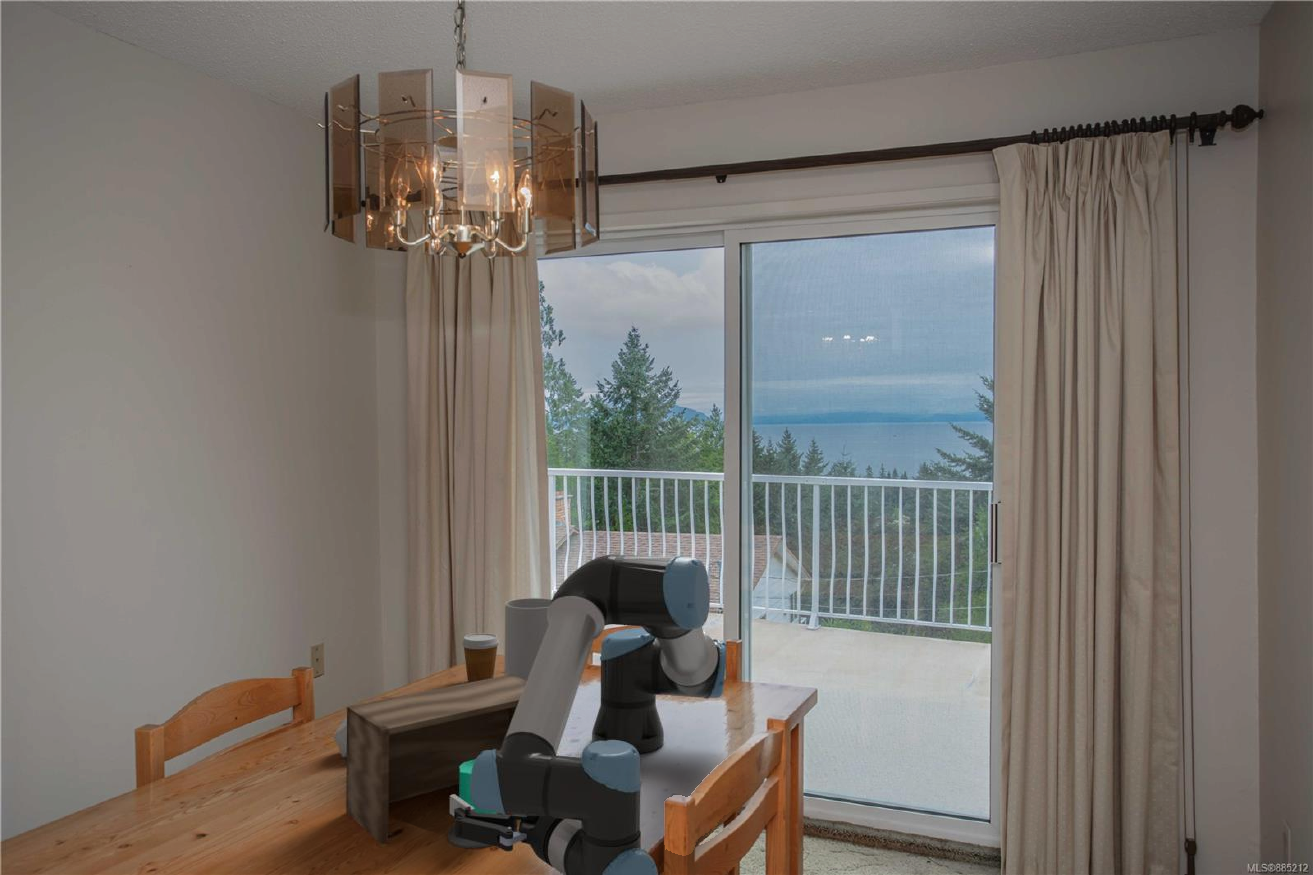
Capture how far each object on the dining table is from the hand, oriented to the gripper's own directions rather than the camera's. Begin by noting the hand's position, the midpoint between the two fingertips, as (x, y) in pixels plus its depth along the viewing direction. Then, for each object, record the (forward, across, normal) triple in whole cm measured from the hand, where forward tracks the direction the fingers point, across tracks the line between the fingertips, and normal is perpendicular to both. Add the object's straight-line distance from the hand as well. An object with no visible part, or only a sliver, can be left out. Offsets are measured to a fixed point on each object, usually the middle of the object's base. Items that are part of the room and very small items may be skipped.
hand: (492, 792), depth 136 cm
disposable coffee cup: (+82, +42, -9) cm, 93 cm away
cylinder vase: (+55, +41, -9) cm, 69 cm away
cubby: (+19, +3, -9) cm, 21 cm away
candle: (+5, 0, -8) cm, 10 cm away
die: (+52, -1, -9) cm, 53 cm away
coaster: (+5, 0, -9) cm, 10 cm away
